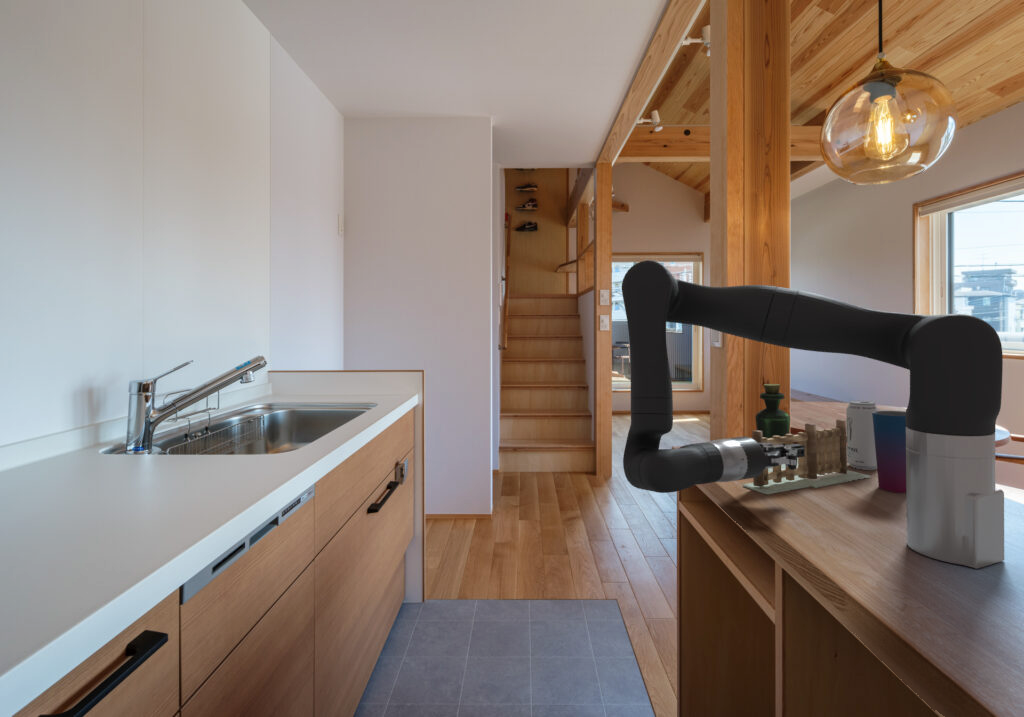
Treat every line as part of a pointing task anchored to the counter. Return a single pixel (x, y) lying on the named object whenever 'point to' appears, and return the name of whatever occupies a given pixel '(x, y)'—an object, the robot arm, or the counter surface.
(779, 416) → the potion bottle
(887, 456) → the cup
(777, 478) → the swing panel
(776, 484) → the board
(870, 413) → the energy drink can
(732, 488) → the counter surface
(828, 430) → the fixed fence panel
